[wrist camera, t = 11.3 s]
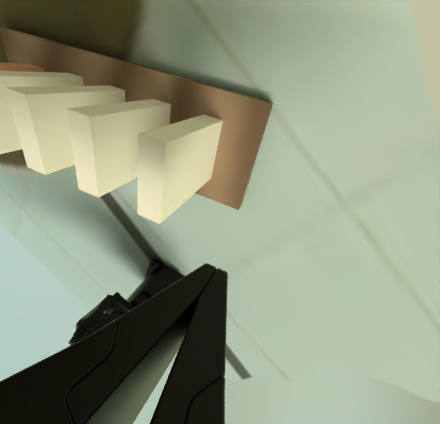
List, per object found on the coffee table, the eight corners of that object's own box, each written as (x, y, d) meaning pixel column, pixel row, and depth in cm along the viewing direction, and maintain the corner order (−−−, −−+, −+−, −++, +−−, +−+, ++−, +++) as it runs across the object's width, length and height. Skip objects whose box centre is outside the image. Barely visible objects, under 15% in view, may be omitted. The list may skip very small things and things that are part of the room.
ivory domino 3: (171, 104, 18) (89, 116, 12) (166, 161, 21) (98, 197, 15) (154, 98, 19) (65, 108, 12) (151, 156, 21) (78, 189, 15)
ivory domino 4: (222, 120, 18) (165, 143, 11) (211, 178, 20) (159, 224, 14) (204, 114, 18) (137, 133, 11) (195, 172, 21) (137, 214, 14)
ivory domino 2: (124, 90, 19) (25, 94, 13) (126, 147, 22) (45, 174, 16) (109, 85, 20) (4, 87, 13) (112, 142, 22) (27, 167, 16)
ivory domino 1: (82, 77, 20) (-30, 75, 14) (89, 133, 23) (-3, 154, 16) (68, 72, 20) (-49, 69, 14) (76, 129, 23) (-19, 147, 17)
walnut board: (272, 102, 17) (270, 103, 16) (241, 204, 22) (238, 209, 21) (10, 28, 22) (-2, 26, 21) (33, 125, 27) (24, 126, 26)
